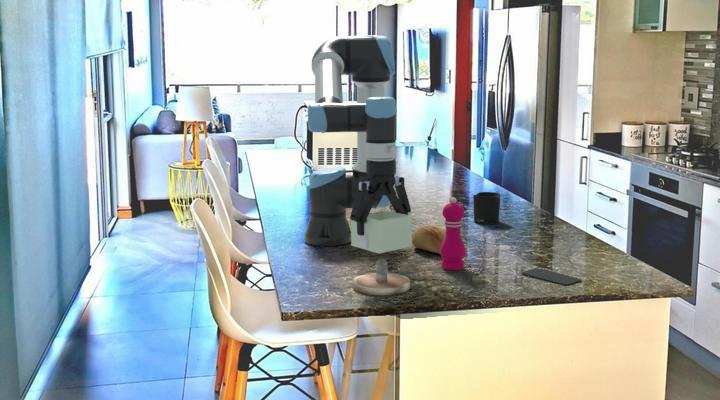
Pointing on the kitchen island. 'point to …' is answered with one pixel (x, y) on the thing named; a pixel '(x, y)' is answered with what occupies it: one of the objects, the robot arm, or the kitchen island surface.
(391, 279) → the post stand
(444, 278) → the kitchen island surface
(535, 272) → the phone
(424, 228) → the bread roll
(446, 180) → the kitchen island surface
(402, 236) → the square ring
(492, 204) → the pen holder
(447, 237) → the pepper mill
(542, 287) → the kitchen island surface
